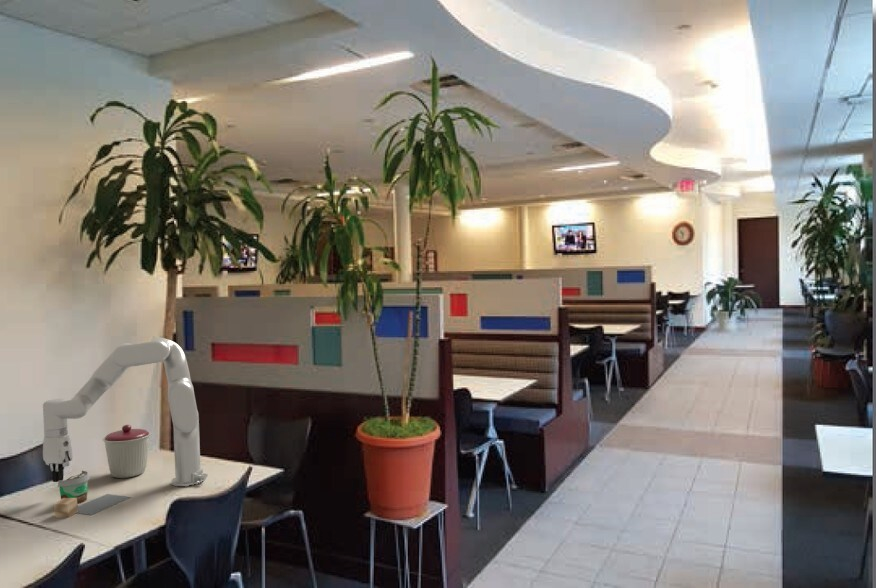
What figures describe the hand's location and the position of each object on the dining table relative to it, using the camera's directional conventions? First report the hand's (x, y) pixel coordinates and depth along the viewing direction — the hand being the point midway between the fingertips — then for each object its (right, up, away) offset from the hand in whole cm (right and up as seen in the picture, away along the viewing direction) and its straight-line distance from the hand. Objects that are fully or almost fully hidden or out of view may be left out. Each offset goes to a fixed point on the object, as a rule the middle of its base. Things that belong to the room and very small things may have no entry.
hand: (58, 480), depth 237 cm
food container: (+10, -7, -3) cm, 12 cm away
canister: (+12, -6, +29) cm, 32 cm away
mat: (+19, -7, -6) cm, 21 cm away
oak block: (+13, -7, -16) cm, 21 cm away
